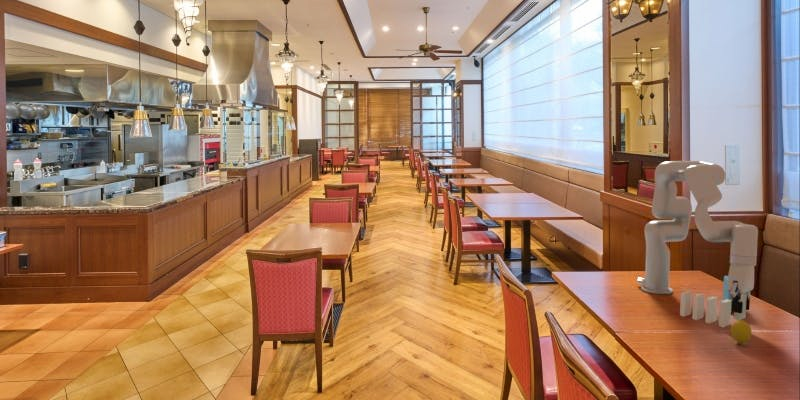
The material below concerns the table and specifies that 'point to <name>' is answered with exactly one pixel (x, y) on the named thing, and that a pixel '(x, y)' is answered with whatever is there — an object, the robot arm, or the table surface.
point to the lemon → (741, 332)
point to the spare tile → (742, 315)
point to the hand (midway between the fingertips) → (740, 310)
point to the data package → (725, 292)
